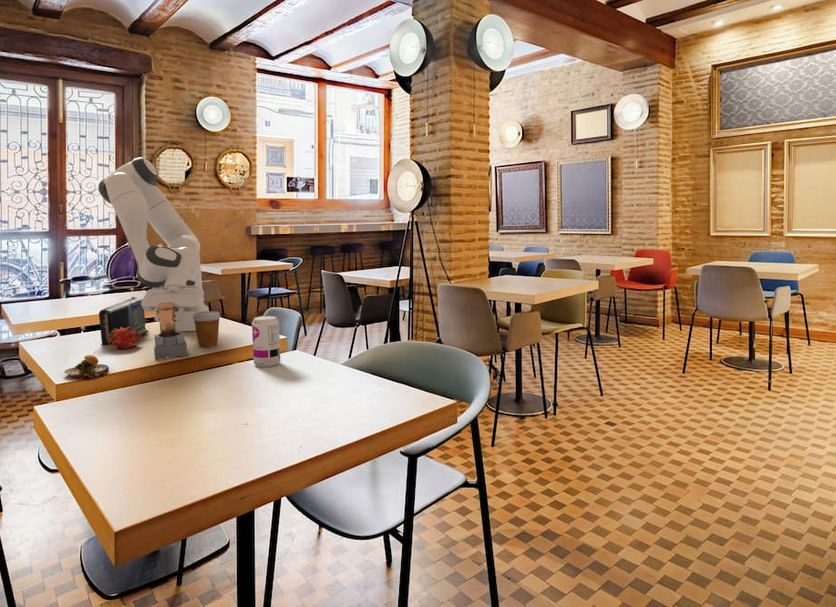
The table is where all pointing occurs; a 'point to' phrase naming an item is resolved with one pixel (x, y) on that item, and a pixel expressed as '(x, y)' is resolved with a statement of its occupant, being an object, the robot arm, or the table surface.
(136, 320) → the radio
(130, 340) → the dragon fruit
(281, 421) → the table surface
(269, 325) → the supplement can
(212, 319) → the disposable coffee cup
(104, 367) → the burger
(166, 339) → the valve body
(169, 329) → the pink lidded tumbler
